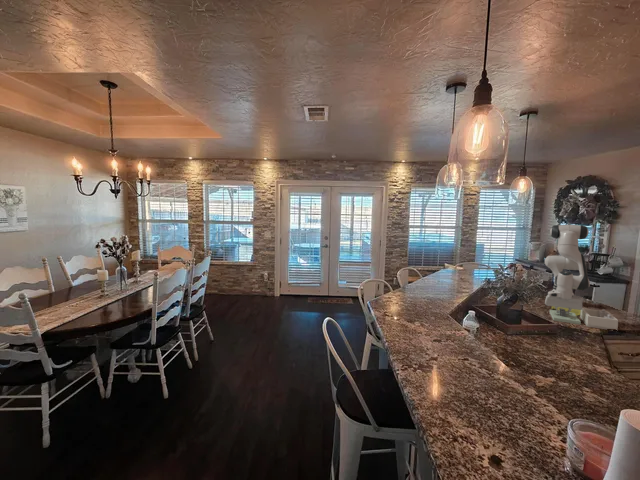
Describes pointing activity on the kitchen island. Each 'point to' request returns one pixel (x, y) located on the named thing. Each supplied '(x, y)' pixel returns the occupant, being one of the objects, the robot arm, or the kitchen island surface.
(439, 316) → the kitchen island surface
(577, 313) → the plastic component
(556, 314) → the green lid
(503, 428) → the kitchen island surface
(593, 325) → the white open box
